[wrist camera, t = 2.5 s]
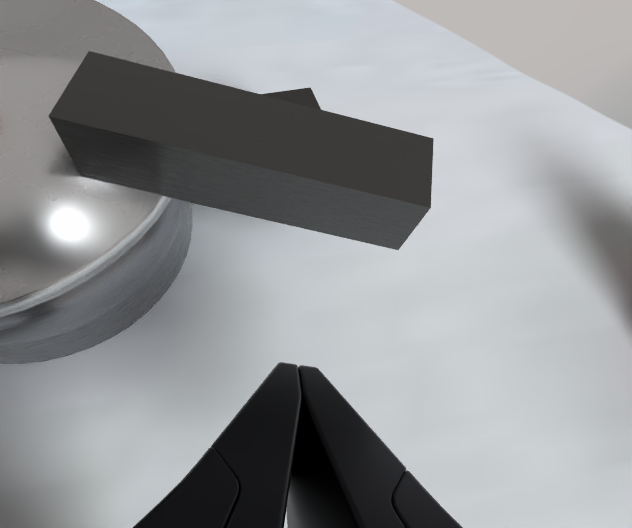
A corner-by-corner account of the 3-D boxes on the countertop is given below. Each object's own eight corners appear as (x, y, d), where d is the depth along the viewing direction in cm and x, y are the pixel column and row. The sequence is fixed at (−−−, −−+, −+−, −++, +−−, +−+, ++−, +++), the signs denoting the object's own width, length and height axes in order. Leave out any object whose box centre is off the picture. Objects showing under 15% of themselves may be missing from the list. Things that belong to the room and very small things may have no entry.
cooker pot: (-228, 440, 17) (-506, 428, 10) (-198, 150, 22) (-371, 26, 16) (348, 274, 24) (387, 209, 18) (268, 88, 29) (277, -12, 23)
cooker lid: (-464, 269, 12) (-758, 189, 8) (-115, -39, 19) (-195, -152, 16) (375, 429, 14) (421, 418, 10) (404, 97, 21) (437, 24, 18)
